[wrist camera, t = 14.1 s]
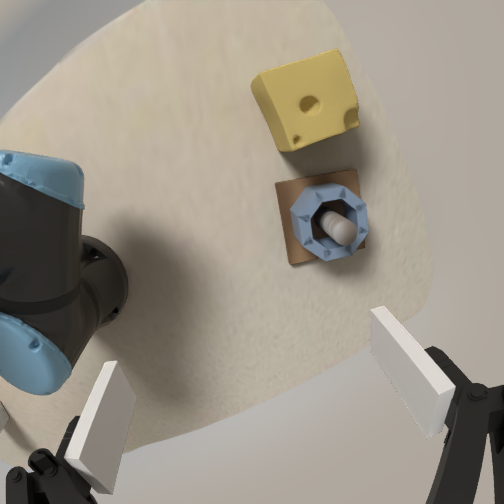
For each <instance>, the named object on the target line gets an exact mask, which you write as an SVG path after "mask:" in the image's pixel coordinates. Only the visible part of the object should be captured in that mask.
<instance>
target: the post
mask: <svg viewBox="0 0 504 504" xmlns="http://www.w3.org/2000/svg"><path fill="white" fill-rule="evenodd" d="M330 182H333V183H336V184H339V185H342V186H345V187H346V188H347V189H349V190H350V191H351V192H352V193H354V194H355V195H356V196H357V197H359V198H360V193H359V185H358V177H357V170H355V169H353V170H346V171H340V172H334V173H328V174H322V175H316V176H310V177H305V178H299V179H294V180H288V181H283V182H278V183H275V187H276V192H277V198H278V203H279V209H280V214H281V220H282V226H283V231H284V237H285V243H286V249H287V255H288V261H289V264H290V265H291V264H295V263H300V262H304V261H309V260H313V259H318V258H319V257H318V256H316V255H315V254H314V253H312V252H311V251H309V250H308V249H306V248H305V247H303V246H302V245H301V244H300V242H299V241H298V240H297V239H296V237H295V236H294V231H293V225H292V218H291V212H290V209H291V207H292V206H293V204H294V203H295V202H296V200H297V199H298V197H299V196H300V194H301V193H302V192H303V190H304V189H305V187H307V186H312V185H318V184H324V183H330ZM310 222H311V229H312V236H314V237H315V238H317V239H322V238H327V237H332V238H333V239H334V240H335V241H336V242H337V243H339V244H340V245H344V246H346V245H350V244H351V243H353V242H354V241H355V239H356V237H357V233H358V231H357V227H356V225H355V224H354V223H353V222H351V221H349V220H348V219H346V218H345V215H344V206H343V203H342V202H340V201H339V200H338V199H336V200H331V201H325V202H322V203H321V204H320V206H319V207H318V209H317V210H316V212H315V213H314V214H313V216H312V217H311V219H310ZM362 248H365V242H364V239H363V241H362V242H361V243H360V245H359V246H358V248H357V249H362ZM357 249H356V250H357Z"/></svg>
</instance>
